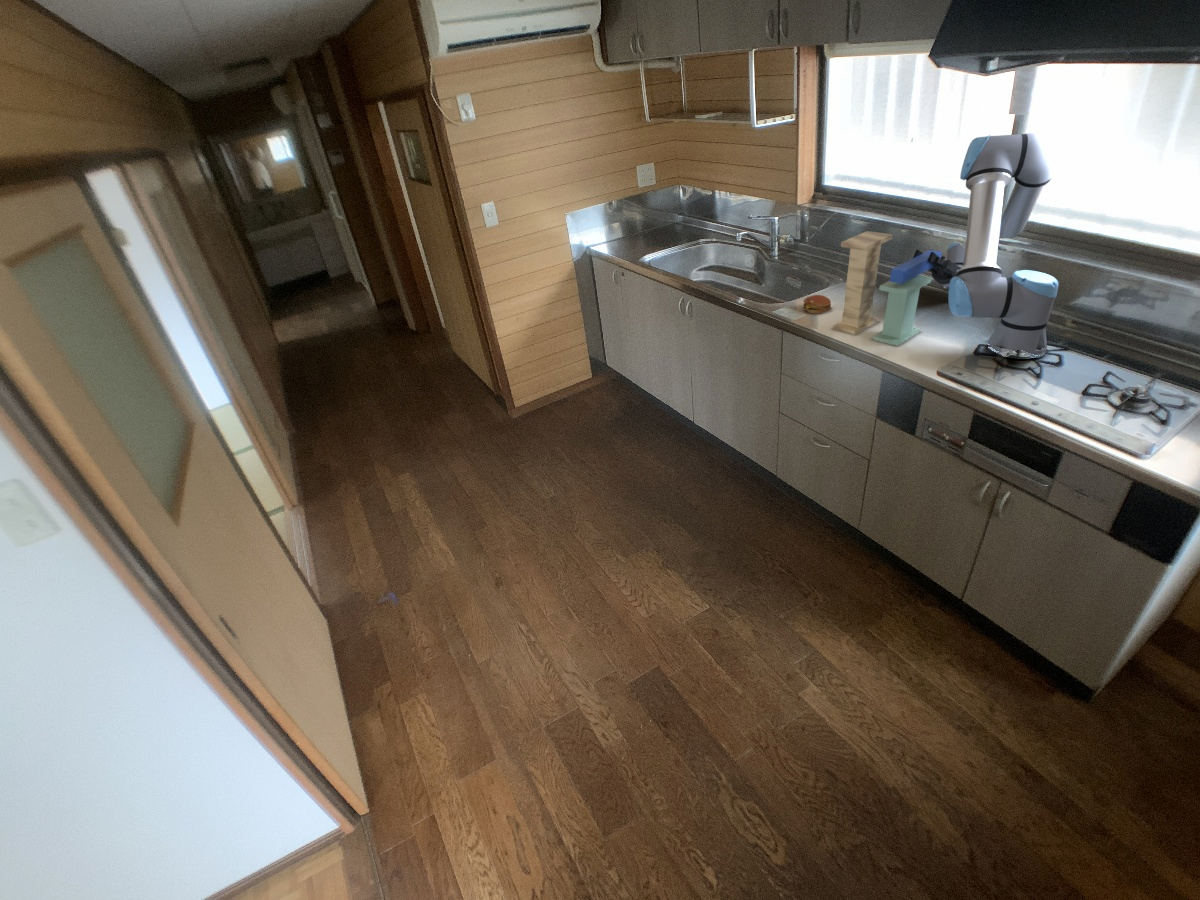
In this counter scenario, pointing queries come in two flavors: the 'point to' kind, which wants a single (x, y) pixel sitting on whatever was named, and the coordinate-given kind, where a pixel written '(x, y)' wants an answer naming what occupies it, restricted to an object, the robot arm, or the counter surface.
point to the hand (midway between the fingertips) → (923, 255)
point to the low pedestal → (901, 310)
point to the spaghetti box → (912, 268)
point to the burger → (817, 304)
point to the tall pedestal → (861, 281)
